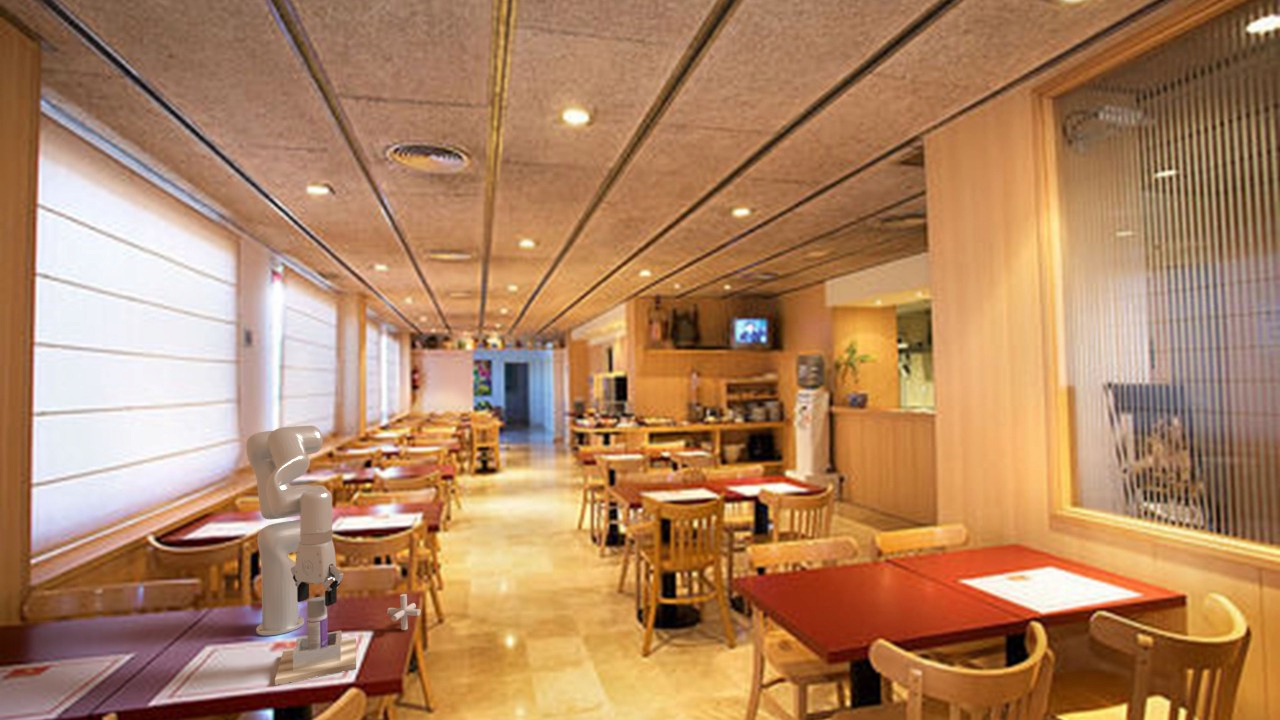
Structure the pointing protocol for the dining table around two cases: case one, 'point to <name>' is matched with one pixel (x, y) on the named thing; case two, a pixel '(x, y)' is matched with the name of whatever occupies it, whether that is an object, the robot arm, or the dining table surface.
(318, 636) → the container
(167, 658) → the dining table surface
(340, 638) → the duct collar
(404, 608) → the pipe connector
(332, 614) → the dining table surface
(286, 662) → the birch board
